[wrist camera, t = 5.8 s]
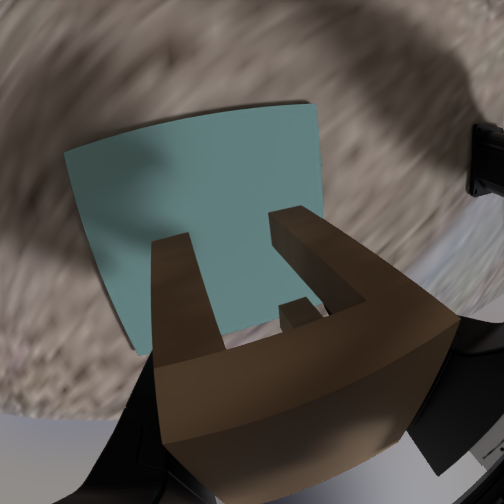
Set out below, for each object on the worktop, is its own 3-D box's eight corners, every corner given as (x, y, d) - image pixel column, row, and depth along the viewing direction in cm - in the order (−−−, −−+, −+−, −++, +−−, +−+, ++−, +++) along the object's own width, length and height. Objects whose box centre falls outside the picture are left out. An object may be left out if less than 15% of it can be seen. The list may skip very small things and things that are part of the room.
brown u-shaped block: (301, 205, 10) (461, 318, 4) (306, 318, 12) (398, 441, 6) (151, 241, 9) (162, 444, 3) (190, 354, 11) (234, 510, 5)
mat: (312, 103, 13) (316, 103, 13) (320, 299, 19) (323, 303, 18) (66, 151, 10) (63, 152, 10) (138, 351, 16) (138, 355, 16)
